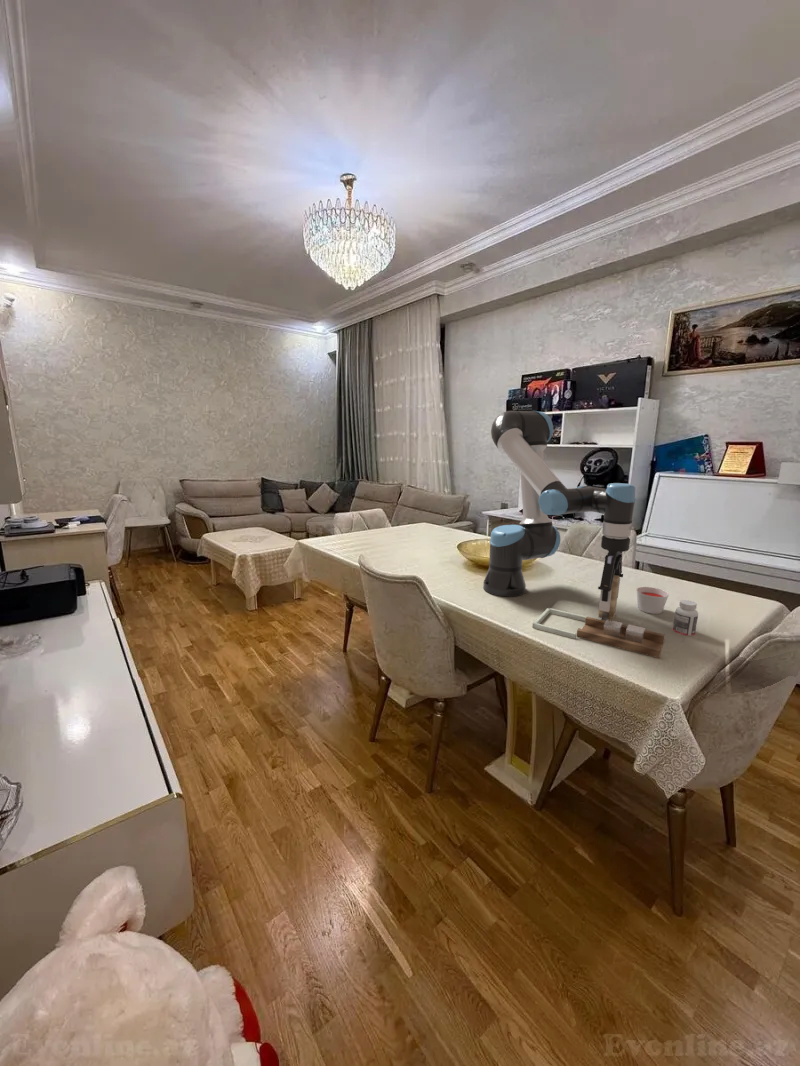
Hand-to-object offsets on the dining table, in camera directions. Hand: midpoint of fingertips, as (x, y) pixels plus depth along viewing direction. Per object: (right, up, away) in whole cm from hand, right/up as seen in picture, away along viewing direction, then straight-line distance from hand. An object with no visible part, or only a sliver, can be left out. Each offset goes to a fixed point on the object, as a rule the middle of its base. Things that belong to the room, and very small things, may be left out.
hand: (608, 603), depth 132 cm
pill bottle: (+17, -8, -8) cm, 21 cm away
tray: (-16, -6, -4) cm, 18 cm away
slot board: (-3, -9, -13) cm, 16 cm away
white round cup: (+17, -4, +8) cm, 20 cm away
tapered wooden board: (0, -5, +1) cm, 5 cm away
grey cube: (-5, -7, -12) cm, 15 cm away
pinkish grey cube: (-1, -8, -15) cm, 17 cm away
